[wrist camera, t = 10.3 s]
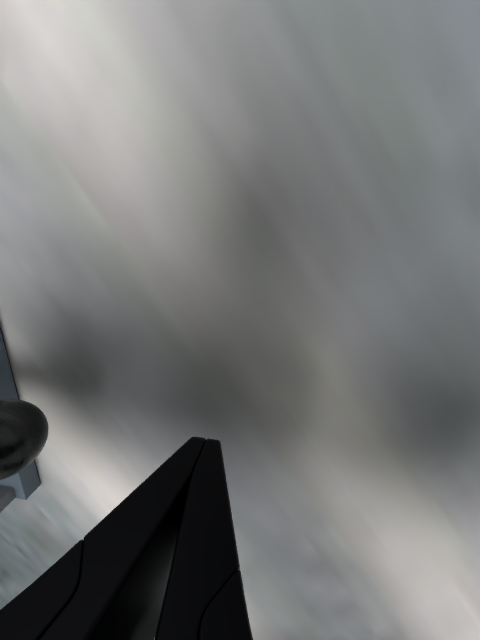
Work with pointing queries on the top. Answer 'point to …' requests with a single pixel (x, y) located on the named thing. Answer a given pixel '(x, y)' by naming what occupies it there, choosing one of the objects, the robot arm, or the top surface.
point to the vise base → (27, 479)
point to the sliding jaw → (20, 435)
